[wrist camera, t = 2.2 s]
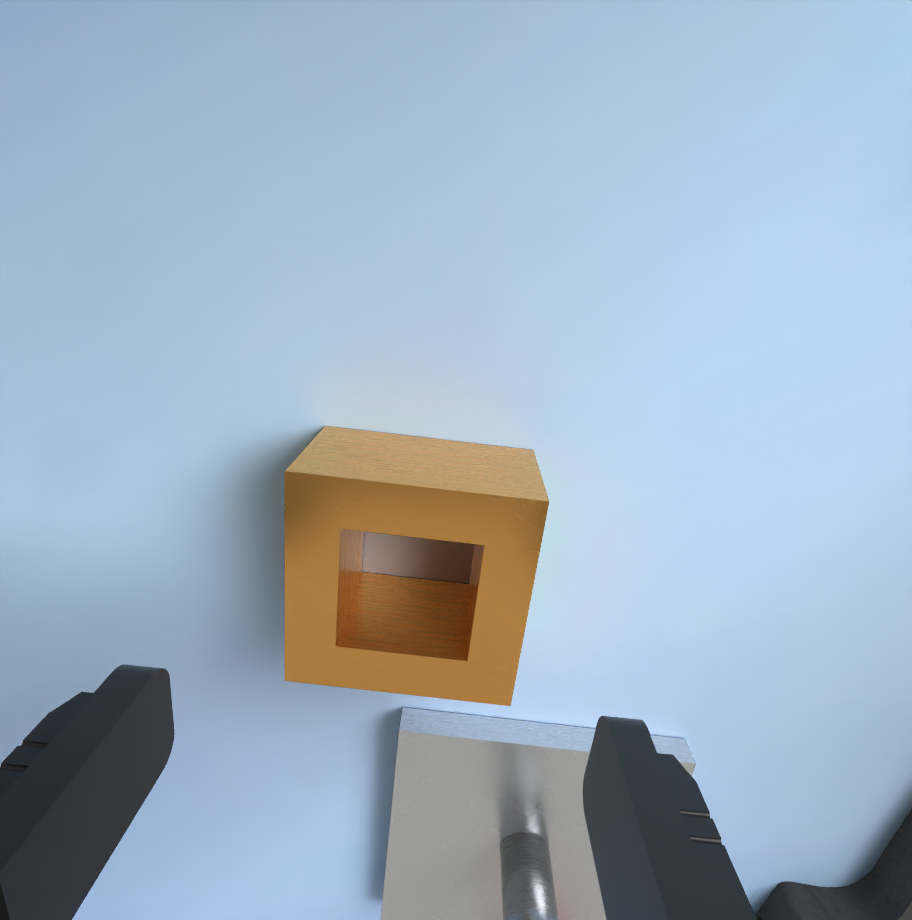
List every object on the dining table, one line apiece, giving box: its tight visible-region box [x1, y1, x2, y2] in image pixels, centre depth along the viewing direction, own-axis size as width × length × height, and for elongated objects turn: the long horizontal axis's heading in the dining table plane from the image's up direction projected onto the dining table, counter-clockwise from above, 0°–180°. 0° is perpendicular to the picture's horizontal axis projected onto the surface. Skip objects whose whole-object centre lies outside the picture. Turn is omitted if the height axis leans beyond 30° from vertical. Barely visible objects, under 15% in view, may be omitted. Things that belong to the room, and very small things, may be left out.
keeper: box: [381, 707, 696, 920], centre depth 18 cm, size 10×10×6 cm
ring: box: [285, 426, 549, 706], centre depth 15 cm, size 6×6×4 cm
